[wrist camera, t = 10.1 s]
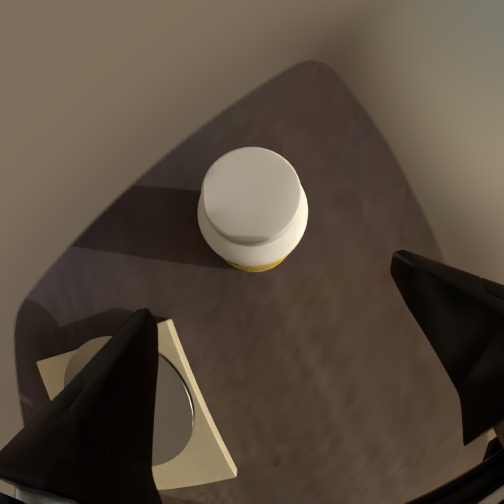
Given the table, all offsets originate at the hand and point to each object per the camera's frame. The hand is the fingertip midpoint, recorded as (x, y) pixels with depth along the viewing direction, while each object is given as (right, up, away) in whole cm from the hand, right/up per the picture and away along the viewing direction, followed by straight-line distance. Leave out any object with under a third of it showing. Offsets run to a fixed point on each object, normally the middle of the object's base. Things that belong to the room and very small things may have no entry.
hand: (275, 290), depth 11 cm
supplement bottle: (-1, +3, +11) cm, 12 cm away
